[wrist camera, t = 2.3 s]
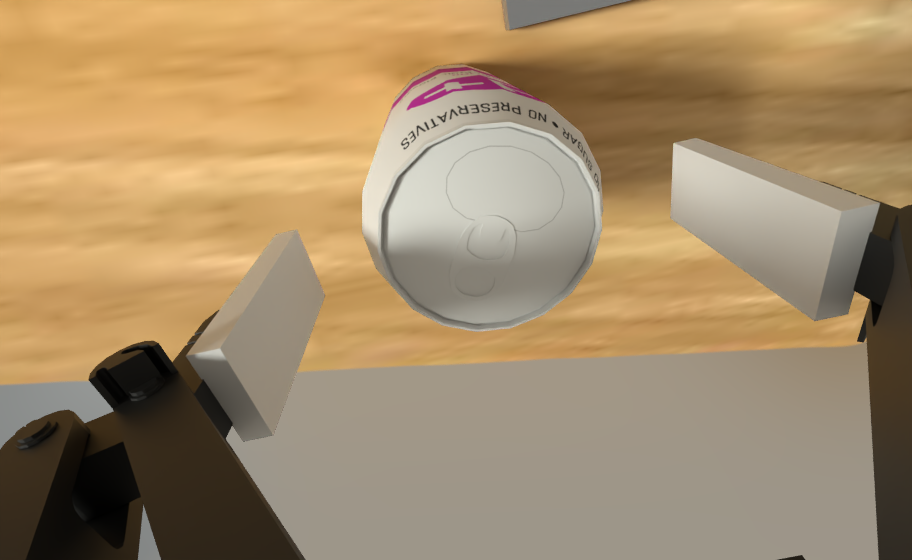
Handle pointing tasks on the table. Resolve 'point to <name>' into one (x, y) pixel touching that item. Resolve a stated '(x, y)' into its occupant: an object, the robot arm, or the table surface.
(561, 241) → the supplement can
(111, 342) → the table surface
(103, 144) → the table surface
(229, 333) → the robot arm
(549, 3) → the slate board
